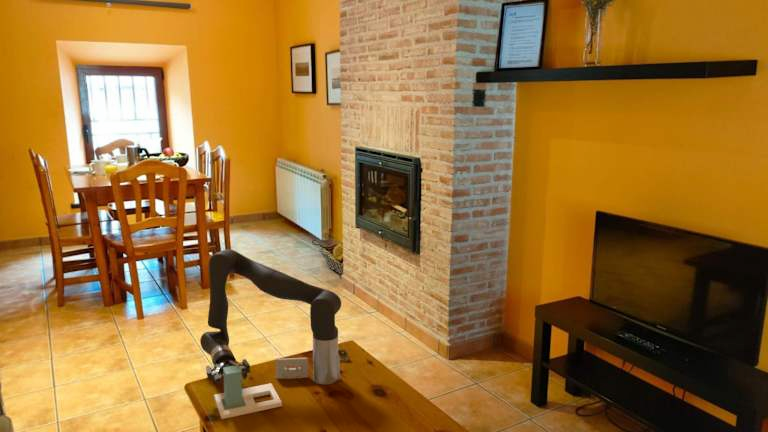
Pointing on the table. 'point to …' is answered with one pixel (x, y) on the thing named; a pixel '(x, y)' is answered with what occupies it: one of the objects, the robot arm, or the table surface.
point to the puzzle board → (248, 401)
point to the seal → (343, 355)
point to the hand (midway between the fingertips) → (232, 378)
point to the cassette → (291, 372)
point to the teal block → (232, 385)
